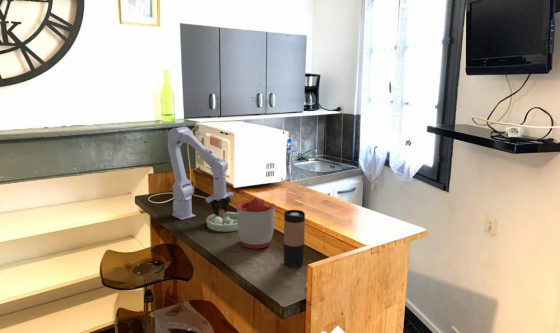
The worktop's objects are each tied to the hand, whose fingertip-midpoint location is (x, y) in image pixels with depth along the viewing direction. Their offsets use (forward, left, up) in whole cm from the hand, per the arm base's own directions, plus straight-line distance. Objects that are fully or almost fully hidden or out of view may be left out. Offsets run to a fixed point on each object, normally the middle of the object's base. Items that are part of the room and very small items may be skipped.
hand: (220, 213), depth 193 cm
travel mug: (+54, -6, -4) cm, 55 cm away
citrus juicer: (+31, -4, -4) cm, 31 cm away
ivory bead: (+5, -5, -3) cm, 7 cm away
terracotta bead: (0, 0, -1) cm, 1 cm away
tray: (+5, 0, -4) cm, 6 cm away
